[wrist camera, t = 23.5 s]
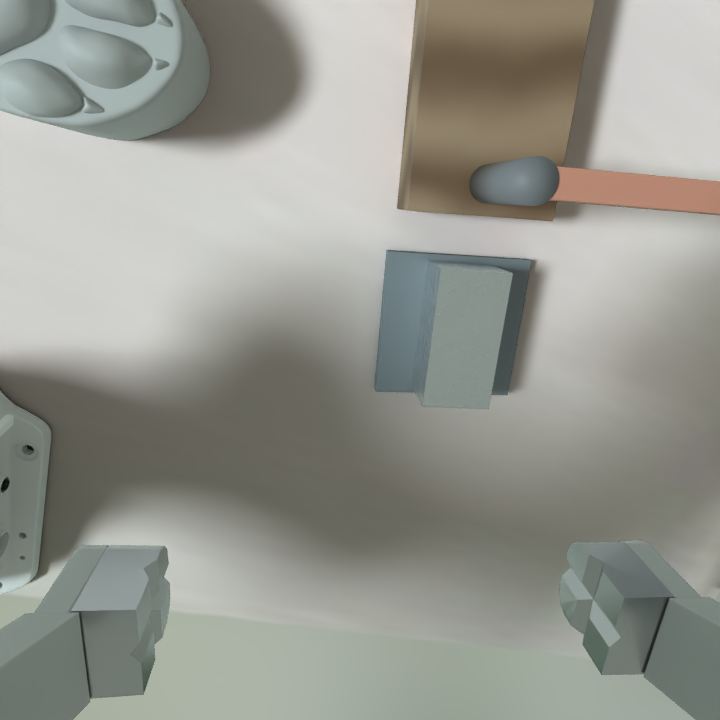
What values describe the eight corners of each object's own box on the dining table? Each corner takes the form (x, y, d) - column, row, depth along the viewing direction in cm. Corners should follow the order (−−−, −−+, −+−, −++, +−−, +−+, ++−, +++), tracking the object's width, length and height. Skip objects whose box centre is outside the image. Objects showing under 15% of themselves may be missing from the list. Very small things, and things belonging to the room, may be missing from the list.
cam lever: (466, 201, 32) (509, 204, 25) (472, 162, 31) (518, 153, 25) (673, 219, 34) (764, 225, 27) (682, 182, 33) (779, 179, 27)
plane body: (528, 218, 37) (552, 221, 33) (397, 208, 36) (407, 210, 32) (574, -55, 32) (610, -89, 28) (423, -78, 31) (439, -115, 27)
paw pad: (-7, -84, 29) (-132, -195, 20) (222, -13, 31) (191, -87, 23) (-10, 110, 32) (-120, 81, 23) (199, 162, 34) (165, 152, 26)
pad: (503, 391, 42) (507, 395, 41) (374, 387, 40) (375, 391, 40) (527, 259, 38) (531, 260, 37) (386, 250, 37) (388, 251, 36)
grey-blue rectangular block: (471, 388, 40) (488, 408, 37) (411, 386, 40) (422, 406, 36) (491, 265, 37) (513, 273, 33) (427, 260, 37) (441, 268, 33)
